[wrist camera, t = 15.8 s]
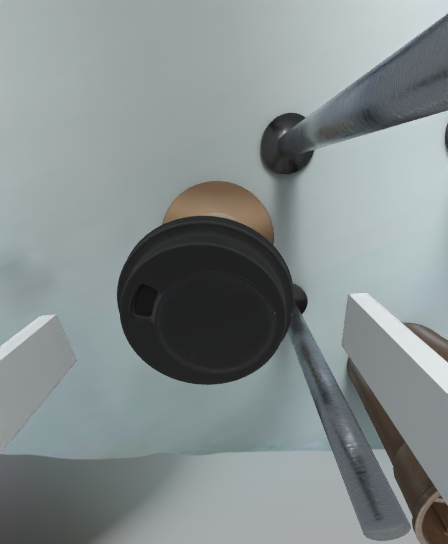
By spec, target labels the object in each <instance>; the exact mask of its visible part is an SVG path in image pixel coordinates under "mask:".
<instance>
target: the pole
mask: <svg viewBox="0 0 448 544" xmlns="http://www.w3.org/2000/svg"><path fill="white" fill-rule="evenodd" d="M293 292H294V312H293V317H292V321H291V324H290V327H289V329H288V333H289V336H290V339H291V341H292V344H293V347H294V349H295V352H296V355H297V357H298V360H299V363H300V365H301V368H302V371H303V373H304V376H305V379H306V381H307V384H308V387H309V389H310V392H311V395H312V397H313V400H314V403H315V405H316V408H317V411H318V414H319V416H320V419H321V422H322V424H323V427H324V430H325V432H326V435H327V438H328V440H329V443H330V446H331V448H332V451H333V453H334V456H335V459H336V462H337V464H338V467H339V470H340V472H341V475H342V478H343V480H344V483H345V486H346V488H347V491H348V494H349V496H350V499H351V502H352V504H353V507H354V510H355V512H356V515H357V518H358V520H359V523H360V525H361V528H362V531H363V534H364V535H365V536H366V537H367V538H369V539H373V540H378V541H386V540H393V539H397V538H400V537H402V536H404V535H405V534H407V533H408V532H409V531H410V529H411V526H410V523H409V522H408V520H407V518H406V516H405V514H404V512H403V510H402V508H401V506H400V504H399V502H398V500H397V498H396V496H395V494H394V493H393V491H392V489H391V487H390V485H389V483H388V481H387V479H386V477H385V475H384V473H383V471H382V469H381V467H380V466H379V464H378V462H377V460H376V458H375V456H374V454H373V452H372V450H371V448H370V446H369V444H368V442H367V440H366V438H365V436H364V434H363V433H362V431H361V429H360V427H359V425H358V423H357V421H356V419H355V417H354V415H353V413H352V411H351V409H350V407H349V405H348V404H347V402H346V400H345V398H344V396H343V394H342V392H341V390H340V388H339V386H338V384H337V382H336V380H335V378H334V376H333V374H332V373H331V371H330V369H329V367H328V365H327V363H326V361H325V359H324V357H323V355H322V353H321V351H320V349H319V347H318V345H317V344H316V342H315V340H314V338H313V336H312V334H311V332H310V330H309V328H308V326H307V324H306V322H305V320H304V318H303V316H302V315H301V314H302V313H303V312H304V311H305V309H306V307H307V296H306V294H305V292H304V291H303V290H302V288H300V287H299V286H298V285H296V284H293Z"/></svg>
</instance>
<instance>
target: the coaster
mask: <svg viewBox="0 0 448 544" xmlns="http://www.w3.org/2000/svg"><path fill="white" fill-rule="evenodd" d="M209 213H222V214H226V215H229V216H231V217H233V218H234V219H235V220H237V221H238V222H240V223H242V224H244V225H246V226H248V227H250V228H252V229H254V230H255V231H257V232H258V233H260V234H261V235H262V236H264V237H265V238H266V239H267V240H268V241H269V242H270V243H271V244H272V245H273V242H274V234H273V226H272V222H271V219H270V217H269V214H268V212H267V211H266V209H265V207H264V206H263V204H262V203H261V202H260V201H259V200H258V199H257V198H256V197H255V196H254V195H253V194H252V193H250V192H249V191H248V190H246V189H244V188H243V187H240V186H238V185H236V184H232V183H228V182H221V181H211V182H206V183H202V184H199V185H195V186H193V187H191V188H189V189H187V190H186V191H185V192H183V193H182V194H180V195H179V196H178V197H177V198H176V199H175V200H174V202H173V203H172V204H171V205H170V207H169V209H168V210H167V212H166V215H165V217H164V220H163V224H165V223H168V222H170V221H173V220H176V219H180V218H184V217H190V216H199V215H202V214H209ZM163 224H162V225H163Z"/></svg>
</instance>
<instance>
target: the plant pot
mask: <svg viewBox="0 0 448 544" xmlns="http://www.w3.org/2000/svg"><path fill="white" fill-rule="evenodd" d="M402 324H404V325H405V326H406V327H407V328H408V329H409V330H411V331H412V332H413V333H414V334H415V335H416V336H418V337H419V338H420V339H421V340H422V341H423V342H424V343H426V344H427V345H428V346H429V347H430V348H431V349H433V350H434V351H435V352H436V353H437V354H438V355H439V356H441V357H442V358H443V359H444V360H445V361H446V362H448V340H446V339H445V338H443V337H441V336H440V335H438V334H437V333H435V332H434V331H432V330H431V329H429V328H427V327H424V326H421V325H417V324H411V323H402ZM348 372H349V375H350V378H351V380H352V382H353V384H354V386H355V388H356V390H357V392H358V394H359V396H360V398H361V400H362V402H363V404H364V406H365V409H366V411H367V413H368V415H369V417H370V419H371V421H372V423H373V425H374V427H375V429H376V431H377V433H378V435H379V437H380V439H381V441H382V444H383V446H384V448H385V450H386V451H387V454H388V456H389V458H390V460H391V462H392V465H393V467H394V468H393V470H394V476H395V479H396V481H397V483H398V485H399V487H400V489H401V491H402V493H403V496H404V498H405V500H406V502H407V504H408V507H409V509H410V511H411V513H412V516H413V519H412V525H413V529H414V532H415V534H416V537H417V539H418V541H419V542H420V543H421V544H448V505H447V504H446V502H445V501H444V499H443V498H442V496H441V495H440V493H439V492H438V490H437V489H436V487H435V486H434V484H433V483H432V481H431V480H430V478H429V477H428V475H427V474H426V472H425V471H424V469H423V468H422V466H421V464H420V463H419V461H418V460H417V458H416V457H415V455H414V454H413V452H412V451H411V449H410V448H409V446H408V445H407V443H406V442H405V440H404V439H403V437H402V436H401V434H400V433H399V431H398V430H397V428H396V427H395V425H394V423H393V422H392V420H391V419H390V417H389V416H388V414H387V413H386V411H385V410H384V408H383V407H382V405H381V404H380V402H379V401H378V399H377V398H376V396H375V395H374V393H373V392H372V390H371V389H370V387H369V386H368V384H367V382H366V381H365V379H364V378H363V376H362V375H361V373H360V372H359V370H358V369H357V367H356V366H355V364H354V363H353V361H352V360H351V358H349V362H348Z"/></svg>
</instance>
